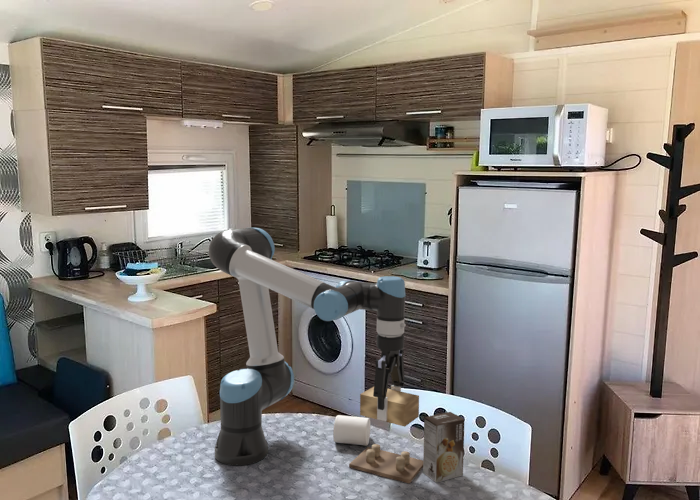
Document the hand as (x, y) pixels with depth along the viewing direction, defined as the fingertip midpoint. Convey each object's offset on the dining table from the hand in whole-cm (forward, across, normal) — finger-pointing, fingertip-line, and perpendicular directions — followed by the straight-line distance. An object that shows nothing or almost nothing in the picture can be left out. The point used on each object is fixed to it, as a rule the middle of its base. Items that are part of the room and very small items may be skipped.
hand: (389, 414), depth 161 cm
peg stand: (+15, 0, 0) cm, 15 cm away
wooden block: (+1, 0, 0) cm, 1 cm away
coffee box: (+16, +3, -15) cm, 22 cm away
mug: (+15, +10, +16) cm, 24 cm away
